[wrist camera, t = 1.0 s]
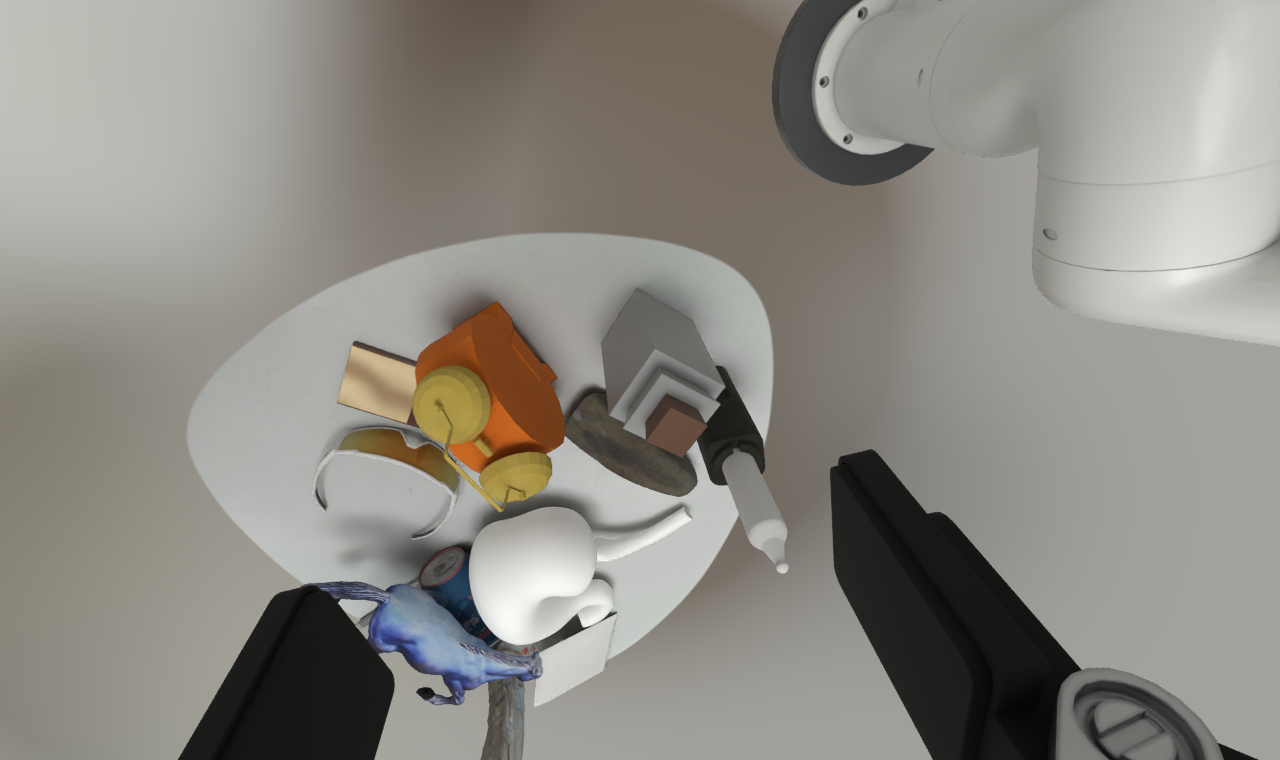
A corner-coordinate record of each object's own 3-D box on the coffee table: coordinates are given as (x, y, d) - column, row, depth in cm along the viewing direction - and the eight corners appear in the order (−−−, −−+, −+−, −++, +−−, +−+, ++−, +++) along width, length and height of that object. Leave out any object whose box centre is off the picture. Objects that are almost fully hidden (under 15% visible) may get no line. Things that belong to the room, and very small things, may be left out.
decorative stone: (553, 420, 58) (552, 442, 54) (590, 379, 56) (591, 399, 52) (669, 490, 64) (674, 514, 61) (705, 455, 62) (713, 478, 59)
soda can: (478, 666, 63) (427, 599, 58) (453, 640, 68) (404, 576, 63) (523, 620, 67) (478, 554, 62) (496, 598, 72) (453, 536, 67)
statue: (531, 640, 75) (509, 935, 49) (480, 629, 73) (429, 933, 47) (551, 607, 72) (540, 902, 46) (499, 595, 70) (456, 898, 44)
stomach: (559, 589, 77) (687, 489, 73) (585, 681, 67) (733, 571, 64) (432, 544, 61) (587, 415, 58) (443, 655, 52) (629, 508, 48)
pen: (423, 572, 67) (431, 579, 67) (348, 623, 70) (356, 629, 70) (420, 578, 66) (429, 585, 66) (344, 630, 69) (353, 636, 69)
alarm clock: (436, 319, 51) (365, 442, 33) (488, 286, 50) (443, 395, 32) (520, 415, 57) (496, 561, 40) (568, 387, 56) (565, 525, 39)
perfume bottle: (601, 343, 54) (612, 449, 38) (636, 288, 51) (664, 377, 36) (656, 371, 56) (688, 482, 41) (692, 320, 54) (741, 417, 38)
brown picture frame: (355, 340, 51) (352, 344, 50) (496, 389, 55) (496, 392, 54) (339, 400, 54) (336, 403, 53) (475, 441, 58) (474, 445, 57)
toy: (467, 725, 66) (556, 707, 59) (250, 640, 51) (336, 604, 45) (484, 660, 71) (567, 637, 65) (293, 568, 57) (375, 526, 51)
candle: (685, 412, 59) (750, 603, 37) (679, 373, 57) (745, 554, 35) (730, 403, 59) (820, 588, 38) (725, 363, 57) (820, 538, 35)
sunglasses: (482, 454, 58) (472, 489, 54) (433, 529, 66) (421, 564, 62) (350, 401, 54) (328, 435, 50) (313, 489, 61) (291, 524, 57)
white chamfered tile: (610, 671, 79) (594, 646, 82) (621, 619, 73) (603, 593, 77) (537, 714, 72) (522, 684, 75) (543, 659, 67) (526, 629, 70)
